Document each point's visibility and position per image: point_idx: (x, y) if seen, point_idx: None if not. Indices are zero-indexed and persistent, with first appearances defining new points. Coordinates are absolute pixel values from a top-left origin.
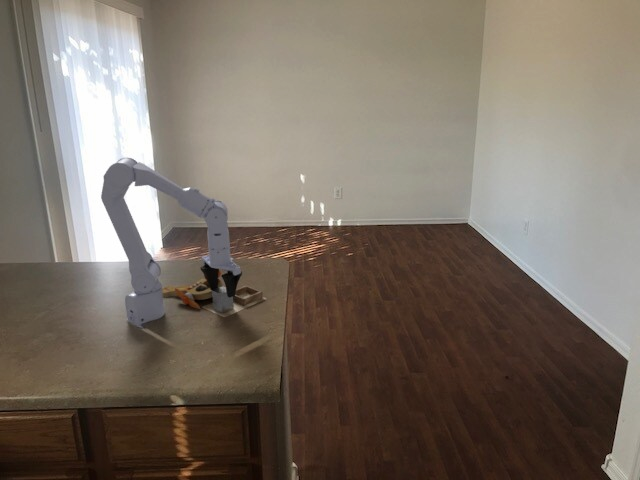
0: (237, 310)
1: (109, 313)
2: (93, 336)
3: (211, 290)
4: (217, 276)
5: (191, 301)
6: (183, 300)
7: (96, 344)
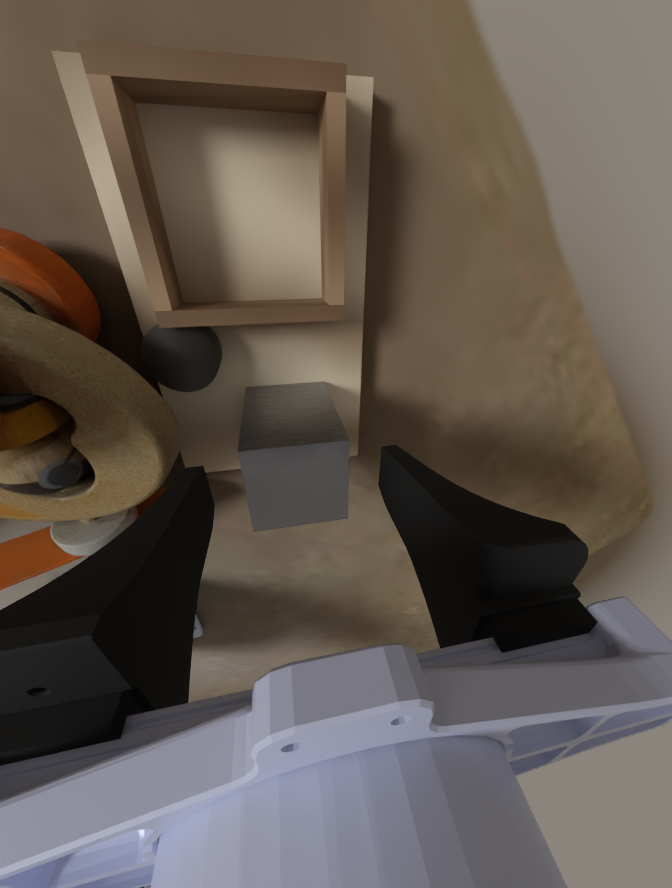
0: (350, 376)
1: None
2: None
3: (153, 466)
4: (172, 526)
5: None
6: None
7: (213, 689)
